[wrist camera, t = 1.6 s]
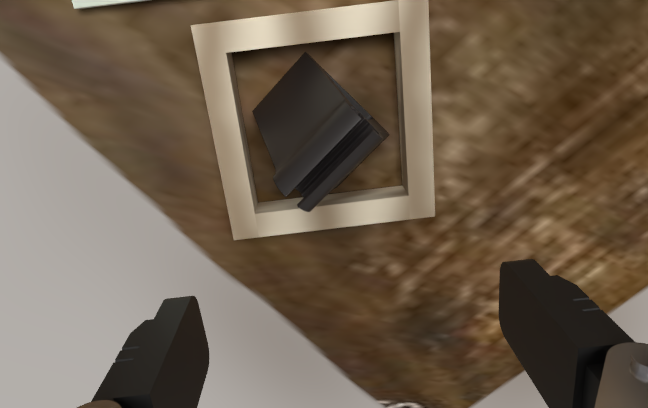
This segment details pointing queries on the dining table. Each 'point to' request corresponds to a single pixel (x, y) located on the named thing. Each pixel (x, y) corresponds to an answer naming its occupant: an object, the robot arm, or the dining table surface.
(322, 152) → the phone stand
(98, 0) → the sage mat
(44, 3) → the dining table surface
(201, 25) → the pocket holder
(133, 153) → the dining table surface
